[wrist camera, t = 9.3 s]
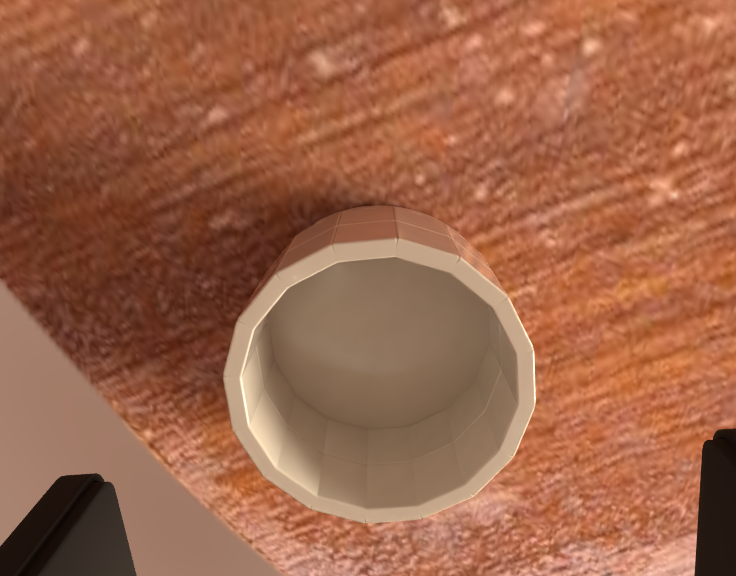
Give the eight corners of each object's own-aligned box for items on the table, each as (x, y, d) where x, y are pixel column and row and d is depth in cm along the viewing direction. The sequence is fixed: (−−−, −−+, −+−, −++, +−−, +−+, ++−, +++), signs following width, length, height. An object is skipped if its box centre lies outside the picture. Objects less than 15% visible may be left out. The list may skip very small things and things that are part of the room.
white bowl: (276, 441, 21) (250, 533, 16) (241, 217, 19) (200, 256, 14) (504, 422, 20) (538, 511, 16) (495, 193, 18) (531, 224, 14)
